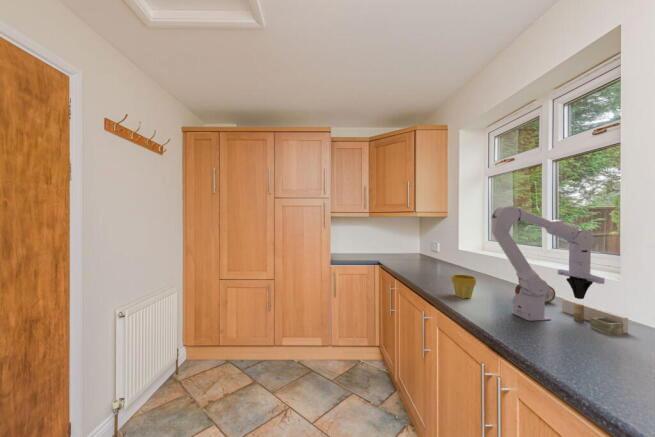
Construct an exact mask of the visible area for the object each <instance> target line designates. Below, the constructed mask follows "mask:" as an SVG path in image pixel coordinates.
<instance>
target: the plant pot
mask: <svg viewBox="0 0 655 437" xmlns="http://www.w3.org/2000/svg"><path fill="white" fill-rule="evenodd" d="M451 282H452V283H453V289H454V295H455V297H457V296H458V297H457V298H459V297H463V298H462V299H464V298H470V299H472V296H473V293H474V288H475V286H476V285H477V278H476V276H473V275H468V274H461V273H460V274H457V273H456V274H452V275H451Z"/></svg>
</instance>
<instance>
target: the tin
mask: <svg viewBox="0 0 655 437" xmlns="http://www.w3.org/2000/svg"><path fill="white" fill-rule="evenodd" d="M548 287H549V289H548V292H547V293H546V294H545V304H547V303H548V304H549V303H551V302H553V300H554V299H555V297H556V291H555V289H554V288H553V287H552V286H551V285H549V284H548ZM521 289H522V287H521V286H520V285H519V283H518V284H517V285H516V287H515V289H514V292H515V295H516V294H520V293H521Z"/></svg>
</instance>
